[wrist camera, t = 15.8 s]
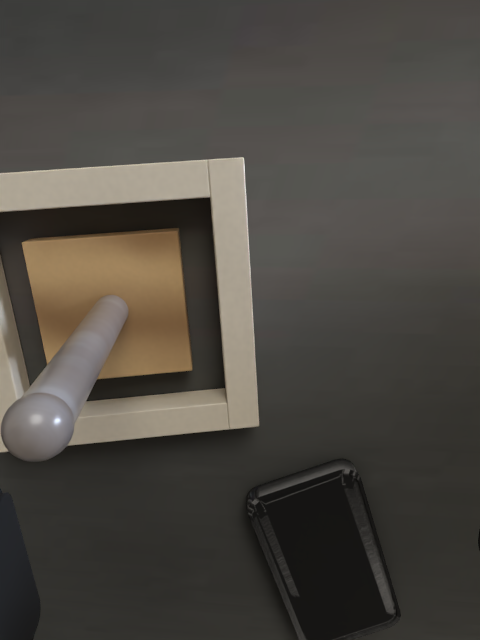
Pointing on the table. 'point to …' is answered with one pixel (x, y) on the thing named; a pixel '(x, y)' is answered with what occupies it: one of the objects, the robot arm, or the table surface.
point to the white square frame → (232, 284)
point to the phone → (324, 552)
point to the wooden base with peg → (97, 326)
